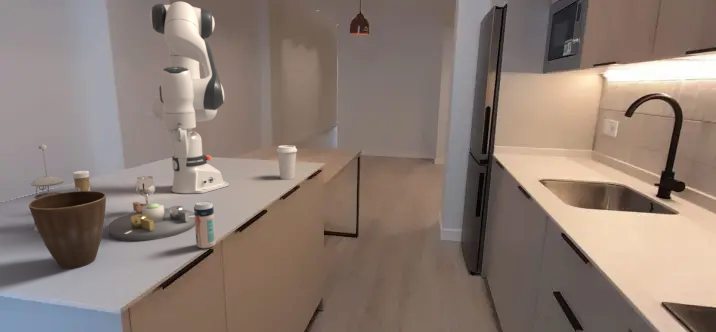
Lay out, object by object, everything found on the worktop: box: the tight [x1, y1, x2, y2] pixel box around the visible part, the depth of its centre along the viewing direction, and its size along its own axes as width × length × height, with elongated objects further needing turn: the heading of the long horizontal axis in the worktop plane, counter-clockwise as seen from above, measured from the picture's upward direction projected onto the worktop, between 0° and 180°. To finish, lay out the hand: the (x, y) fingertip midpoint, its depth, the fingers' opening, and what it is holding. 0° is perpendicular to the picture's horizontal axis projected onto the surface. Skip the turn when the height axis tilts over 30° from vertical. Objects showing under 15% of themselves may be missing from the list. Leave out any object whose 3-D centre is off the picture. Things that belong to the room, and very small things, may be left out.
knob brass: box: [131, 214, 154, 230], centre depth 117 cm, size 8×4×3 cm, turn 57°
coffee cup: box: [276, 144, 298, 181], centre depth 190 cm, size 10×10×15 cm
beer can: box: [193, 200, 216, 250], centre depth 109 cm, size 5×5×12 cm
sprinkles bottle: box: [72, 170, 92, 192], centre depth 139 cm, size 5×5×13 cm
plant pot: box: [28, 190, 107, 269], centre depth 98 cm, size 15×15×16 cm
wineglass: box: [135, 175, 156, 204], centre depth 138 cm, size 6×6×12 cm
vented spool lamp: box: [30, 144, 65, 232], centre depth 123 cm, size 10×12×25 cm
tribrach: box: [107, 202, 195, 242], centre depth 125 cm, size 24×24×7 cm
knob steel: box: [168, 205, 189, 221], centre depth 125 cm, size 8×4×3 cm, turn 50°
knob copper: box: [132, 201, 149, 214], centre depth 130 cm, size 8×4×3 cm, turn 50°
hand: (183, 166), depth 126 cm, fingers open, 8 cm apart
